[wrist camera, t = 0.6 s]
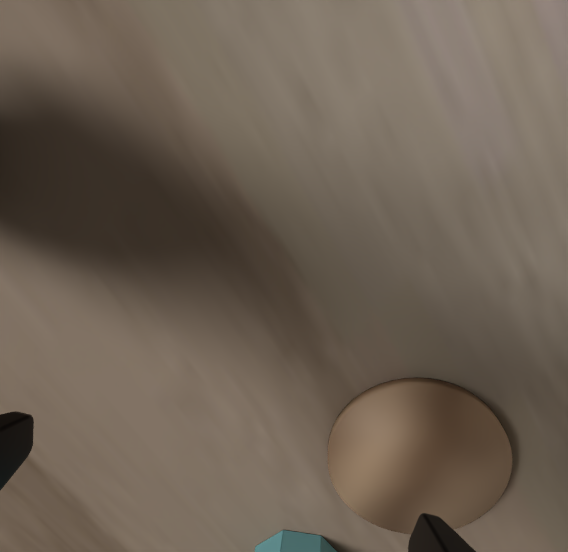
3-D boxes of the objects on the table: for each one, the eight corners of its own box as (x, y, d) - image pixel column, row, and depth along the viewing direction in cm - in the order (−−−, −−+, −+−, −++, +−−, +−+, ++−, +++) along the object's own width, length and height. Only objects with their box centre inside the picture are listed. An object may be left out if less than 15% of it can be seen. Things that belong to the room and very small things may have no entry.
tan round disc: (320, 510, 26) (320, 520, 25) (336, 368, 23) (336, 375, 22) (486, 534, 25) (491, 546, 24) (525, 389, 22) (532, 397, 21)
